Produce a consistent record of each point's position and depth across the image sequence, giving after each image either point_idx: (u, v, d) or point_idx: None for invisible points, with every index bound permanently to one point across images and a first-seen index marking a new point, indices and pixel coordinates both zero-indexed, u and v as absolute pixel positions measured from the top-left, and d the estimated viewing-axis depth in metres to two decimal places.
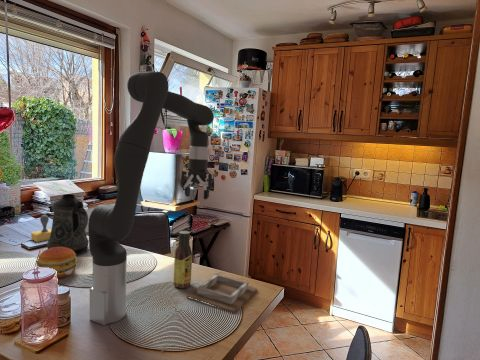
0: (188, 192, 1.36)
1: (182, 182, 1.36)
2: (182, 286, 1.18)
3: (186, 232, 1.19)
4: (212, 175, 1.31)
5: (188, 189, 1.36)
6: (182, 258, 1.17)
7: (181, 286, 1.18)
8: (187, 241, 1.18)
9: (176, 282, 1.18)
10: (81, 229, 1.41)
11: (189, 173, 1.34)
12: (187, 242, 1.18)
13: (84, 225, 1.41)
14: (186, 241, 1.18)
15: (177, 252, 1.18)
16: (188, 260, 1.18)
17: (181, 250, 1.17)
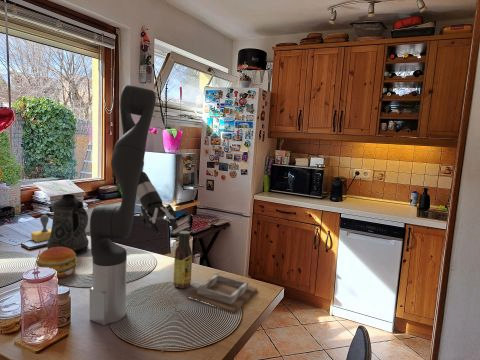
0: None
1: (148, 219, 1.20)
2: (182, 286, 1.18)
3: (186, 232, 1.19)
4: None
5: None
6: (182, 258, 1.17)
7: (181, 286, 1.18)
8: (187, 241, 1.18)
9: (176, 282, 1.18)
10: (81, 229, 1.41)
11: (150, 209, 1.24)
12: (187, 242, 1.18)
13: (84, 225, 1.41)
14: (186, 241, 1.18)
15: (177, 252, 1.18)
16: (188, 260, 1.18)
17: (181, 250, 1.17)
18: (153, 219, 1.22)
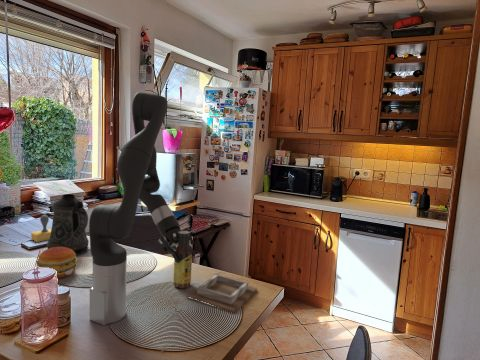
0: None
1: (169, 247, 1.16)
2: (182, 286, 1.18)
3: (186, 232, 1.19)
4: None
5: None
6: (182, 258, 1.17)
7: (181, 286, 1.18)
8: (187, 241, 1.18)
9: (176, 282, 1.18)
10: (81, 229, 1.41)
11: (168, 235, 1.19)
12: (187, 242, 1.18)
13: (84, 225, 1.41)
14: (186, 242, 1.18)
15: None
16: (188, 260, 1.18)
17: (181, 250, 1.17)
18: (174, 246, 1.17)
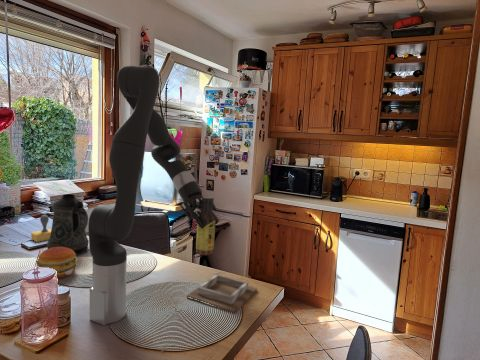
0: None
1: (193, 212, 1.12)
2: (205, 253, 1.14)
3: (209, 197, 1.15)
4: None
5: None
6: (206, 223, 1.13)
7: (204, 253, 1.14)
8: (211, 206, 1.14)
9: (199, 249, 1.14)
10: (81, 229, 1.41)
11: (191, 200, 1.15)
12: (211, 207, 1.14)
13: (84, 225, 1.41)
14: (210, 207, 1.14)
15: None
16: (212, 226, 1.14)
17: (205, 215, 1.13)
18: (197, 212, 1.13)
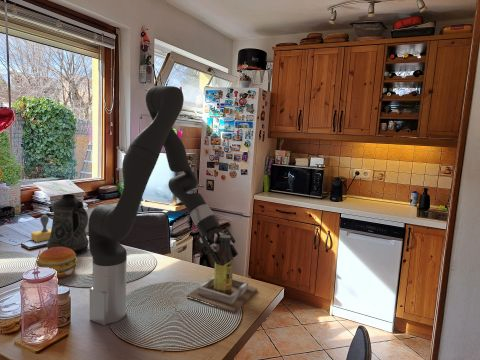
0: None
1: (209, 247, 1.10)
2: None
3: (227, 236, 1.14)
4: None
5: None
6: (223, 263, 1.12)
7: None
8: (228, 245, 1.13)
9: (217, 288, 1.13)
10: (81, 229, 1.41)
11: (209, 235, 1.14)
12: (228, 247, 1.13)
13: (84, 225, 1.41)
14: (227, 246, 1.13)
15: None
16: (230, 266, 1.13)
17: (222, 255, 1.12)
18: (214, 247, 1.11)
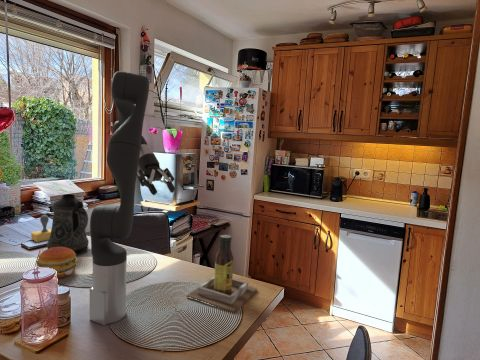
0: None
1: (145, 179, 1.19)
2: None
3: (227, 236, 1.14)
4: None
5: None
6: (224, 263, 1.12)
7: None
8: (229, 245, 1.13)
9: (217, 288, 1.13)
10: (81, 229, 1.41)
11: (147, 170, 1.23)
12: (229, 247, 1.13)
13: (84, 225, 1.41)
14: (228, 246, 1.13)
15: (218, 257, 1.13)
16: (230, 266, 1.13)
17: (223, 255, 1.12)
18: (150, 180, 1.21)
